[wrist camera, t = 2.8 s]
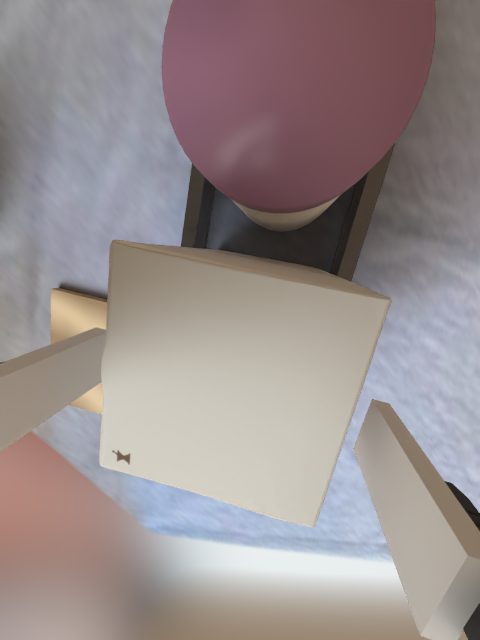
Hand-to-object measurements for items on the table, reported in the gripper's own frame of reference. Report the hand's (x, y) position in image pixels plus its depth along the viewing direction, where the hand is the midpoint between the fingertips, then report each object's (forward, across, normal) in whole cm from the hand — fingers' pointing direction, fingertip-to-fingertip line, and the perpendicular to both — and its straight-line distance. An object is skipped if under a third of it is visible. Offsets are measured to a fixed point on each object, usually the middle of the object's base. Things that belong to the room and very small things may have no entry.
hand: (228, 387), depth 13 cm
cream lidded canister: (+11, 0, +12) cm, 17 cm away
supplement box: (+11, 0, +2) cm, 11 cm away
